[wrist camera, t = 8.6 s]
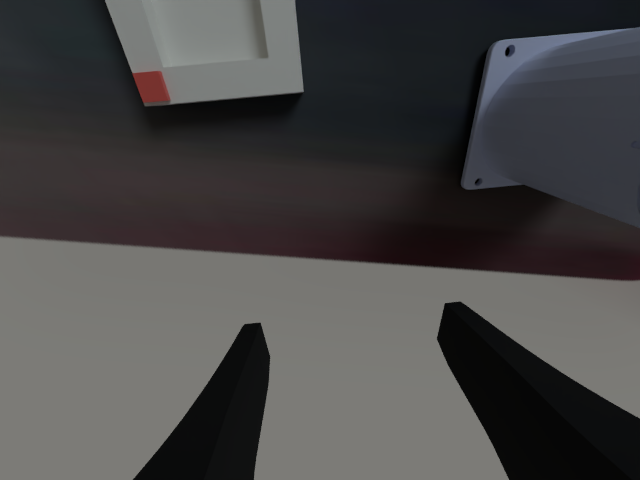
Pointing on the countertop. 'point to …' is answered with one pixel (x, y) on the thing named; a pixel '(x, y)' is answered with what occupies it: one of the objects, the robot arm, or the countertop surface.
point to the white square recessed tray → (209, 48)
